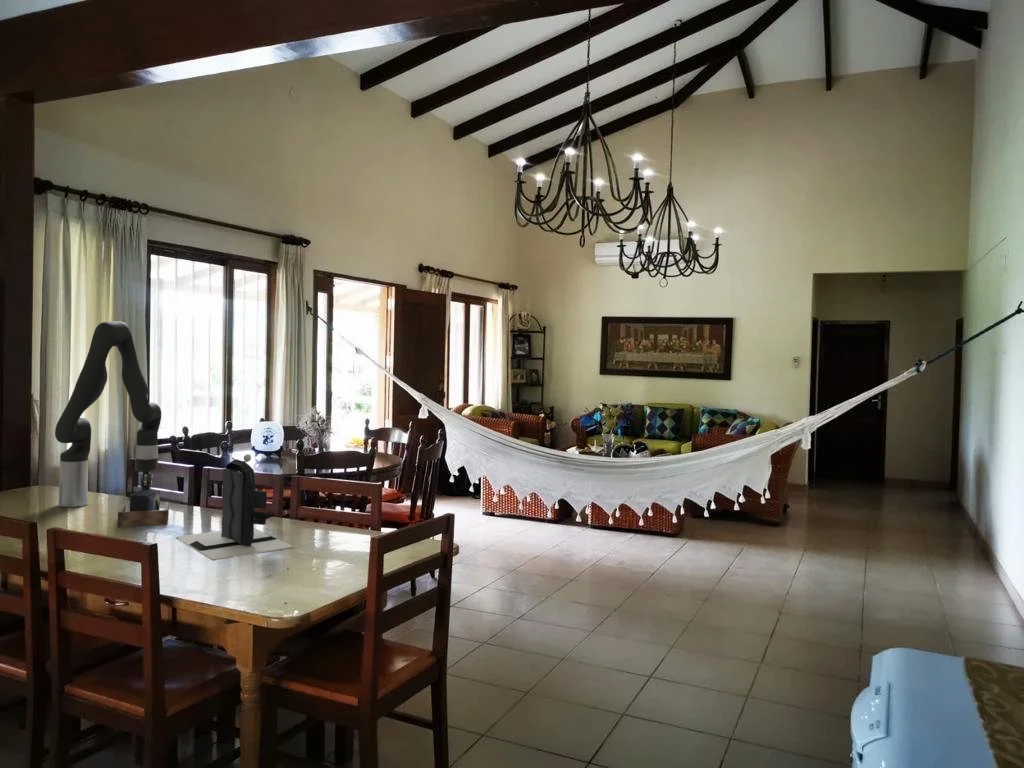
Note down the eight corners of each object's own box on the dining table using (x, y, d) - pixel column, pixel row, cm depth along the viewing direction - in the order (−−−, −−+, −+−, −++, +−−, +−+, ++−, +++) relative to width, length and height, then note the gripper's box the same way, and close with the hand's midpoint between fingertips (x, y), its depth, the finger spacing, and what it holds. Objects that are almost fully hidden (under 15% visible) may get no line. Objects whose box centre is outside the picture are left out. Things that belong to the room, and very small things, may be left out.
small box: (147, 525, 262) (147, 495, 262) (128, 524, 262) (128, 494, 262) (160, 518, 273) (161, 489, 273) (142, 518, 273) (142, 489, 272)
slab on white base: (175, 538, 247) (176, 451, 246) (251, 528, 264) (252, 447, 263) (212, 561, 223) (214, 464, 222) (293, 548, 240) (295, 458, 239)
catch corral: (117, 527, 258) (118, 512, 258) (121, 517, 272) (121, 504, 272) (167, 524, 264) (167, 510, 264) (168, 515, 278) (168, 502, 278)
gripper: (136, 454, 286) (136, 500, 287) (134, 459, 274) (133, 507, 274) (158, 454, 289) (157, 499, 289) (157, 459, 277) (156, 506, 277)
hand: (145, 503), depth 282 cm, fingers closed
